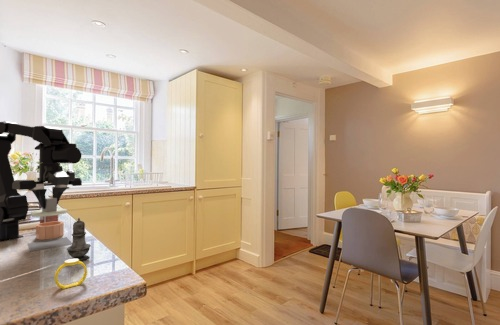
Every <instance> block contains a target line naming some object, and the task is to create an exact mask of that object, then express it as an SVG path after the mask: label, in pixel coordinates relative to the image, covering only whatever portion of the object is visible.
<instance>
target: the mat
mask: <svg viewBox="0 0 500 325" xmlns="http://www.w3.org/2000/svg"><path fill="white" fill-rule="evenodd" d="M72 242H73V241H71V240H70V238H69V237H67V236H66V237H65V236H63V237H57V238H52V239H45V240H41V241H36V242H35V241H33V242H30V243H29V242H28V243H27V246H28V249H29V253H31V252H39V251H42V250H48V249H54V248H58V247H59V248H60V247H64V246H71V245H72Z"/></svg>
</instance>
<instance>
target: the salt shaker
mask: <svg viewBox="0 0 500 325" xmlns="http://www.w3.org/2000/svg"><path fill="white" fill-rule="evenodd" d="M85 228H86V224H85V222H84V221H83V220H81V218H80V217H78V218H77V220H76V221H74V222H73V224H72V233H71V236H72V241H71V242H72V244H71V245H69V246H68V247H66V251H67V253H68V255H69V256H70V258H69V259H74V258H76V259H79V261H81V262H83V263H84V262H85V261H88V260H89V259H90V255H87V254H88V253H89V251H90V249H91V246H92V244H90V243H87V242H86V234H87V232H86V230H85ZM87 259H88V260H87Z"/></svg>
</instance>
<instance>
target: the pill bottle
mask: <svg viewBox="0 0 500 325" xmlns="http://www.w3.org/2000/svg"><path fill="white" fill-rule="evenodd" d="M57 209H59V208H58V207H57ZM39 210H42V207H41V208H40V209H39ZM53 221H59V215H54V216H42V217H39V224H40V223H45V222H53Z"/></svg>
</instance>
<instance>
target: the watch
mask: <svg viewBox="0 0 500 325" xmlns="http://www.w3.org/2000/svg"><path fill="white" fill-rule="evenodd" d="M74 265H80V266H82V267H83V268H84V273H83V275H82V277H81V278H80V279H79V281H77V282H73V283H69V284H65V285H64V284H62V283H60V282H59V280H58V276H59V273H60V272H61V270H62V269H64V268H66V267H67V266H74ZM87 268H88V267H87V266H86V265H85V263H84V261H83V262H81V261H79V259H76V258H74V259H70V258H69V259H65V260H64V262H63V264H61V265H59V266H58V268H57V270H56V271H55V273H54V283H55V284H56V286H57V287H58V288H60V289H62V290H66V289H69V288H73V287H77V286H80V285H81V284H83V282H85V279H87V276H88V269H87Z"/></svg>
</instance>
